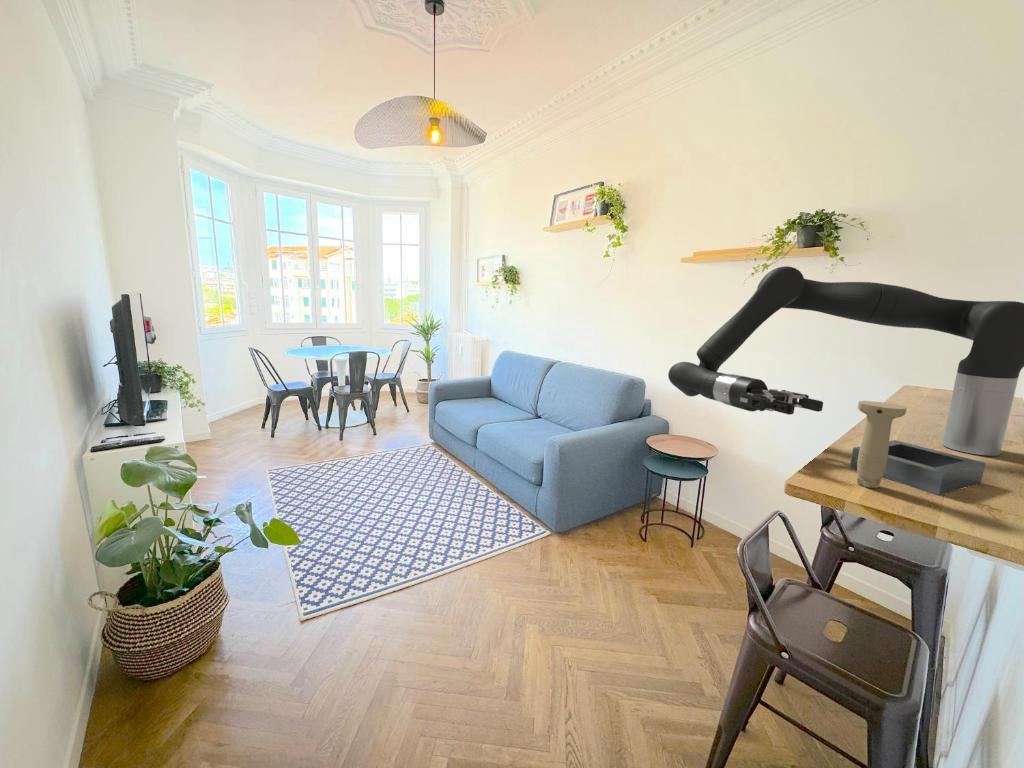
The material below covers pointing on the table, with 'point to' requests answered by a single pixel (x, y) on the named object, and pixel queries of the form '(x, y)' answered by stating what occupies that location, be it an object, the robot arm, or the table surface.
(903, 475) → the housing
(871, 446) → the handle
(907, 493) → the table surface
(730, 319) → the robot arm
